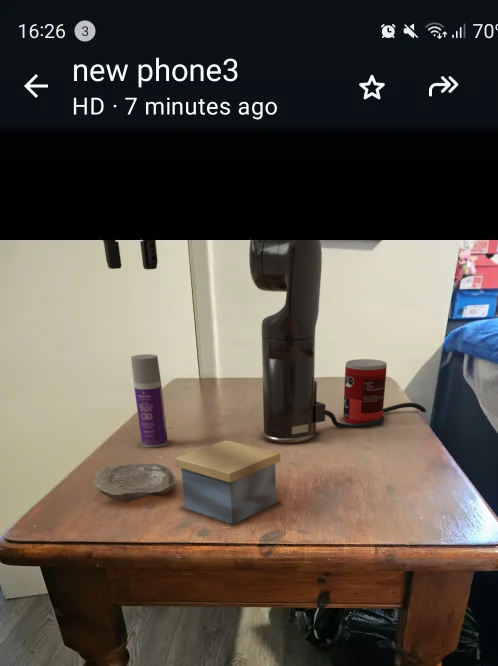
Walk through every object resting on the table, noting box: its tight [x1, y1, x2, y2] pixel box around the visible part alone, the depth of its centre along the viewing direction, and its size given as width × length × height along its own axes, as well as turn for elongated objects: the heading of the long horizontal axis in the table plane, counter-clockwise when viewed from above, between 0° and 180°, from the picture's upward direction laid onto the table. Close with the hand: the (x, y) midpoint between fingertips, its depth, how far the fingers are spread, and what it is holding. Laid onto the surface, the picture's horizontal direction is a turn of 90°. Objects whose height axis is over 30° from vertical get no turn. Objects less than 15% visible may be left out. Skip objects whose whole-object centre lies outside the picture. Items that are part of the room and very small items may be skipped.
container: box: [130, 353, 169, 449], centre depth 103 cm, size 5×5×15 cm
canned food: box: [342, 358, 388, 425], centre depth 115 cm, size 8×8×11 cm
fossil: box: [94, 462, 177, 504], centre depth 85 cm, size 10×12×3 cm
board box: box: [174, 439, 281, 525], centre depth 79 cm, size 10×10×7 cm
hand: (132, 268), depth 91 cm, fingers open, 8 cm apart
